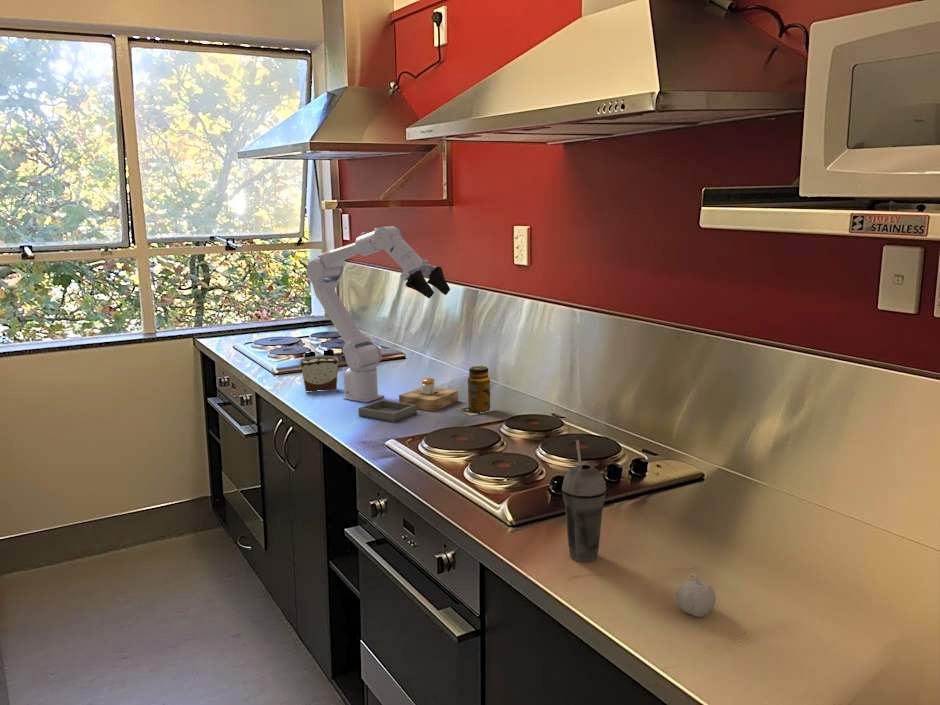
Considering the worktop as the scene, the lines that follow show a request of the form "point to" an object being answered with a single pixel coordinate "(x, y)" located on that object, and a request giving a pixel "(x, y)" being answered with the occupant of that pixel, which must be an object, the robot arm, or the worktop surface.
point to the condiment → (478, 391)
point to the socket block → (429, 398)
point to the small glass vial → (428, 386)
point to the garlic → (696, 597)
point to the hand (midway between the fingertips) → (439, 293)
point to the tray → (387, 410)
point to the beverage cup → (583, 509)
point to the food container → (320, 372)
